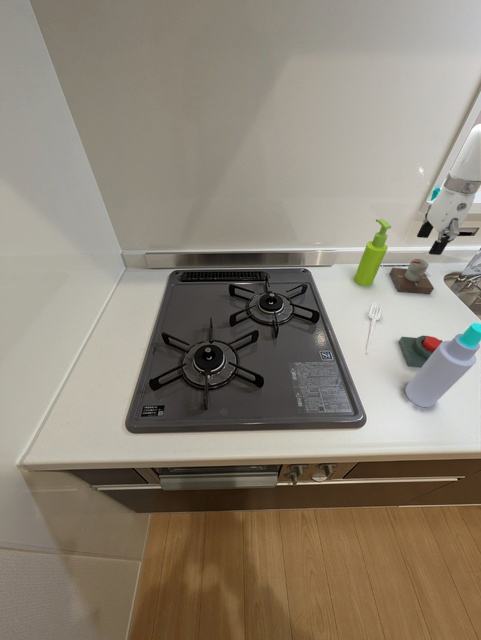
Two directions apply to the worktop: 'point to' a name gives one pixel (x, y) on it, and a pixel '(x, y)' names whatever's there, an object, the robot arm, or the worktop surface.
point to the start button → (431, 343)
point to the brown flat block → (410, 282)
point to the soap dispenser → (372, 256)
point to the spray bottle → (444, 367)
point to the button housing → (414, 351)
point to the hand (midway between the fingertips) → (427, 245)
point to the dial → (416, 270)
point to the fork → (373, 324)
